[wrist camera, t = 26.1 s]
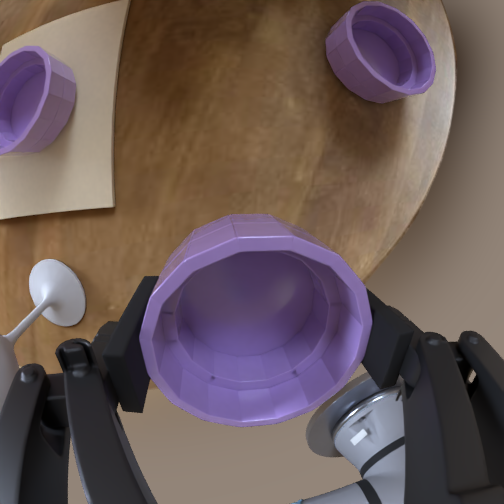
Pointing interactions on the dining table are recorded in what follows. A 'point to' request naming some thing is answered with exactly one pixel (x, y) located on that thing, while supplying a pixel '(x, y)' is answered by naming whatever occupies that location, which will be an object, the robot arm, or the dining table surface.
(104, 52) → the placemat
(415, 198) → the dining table surface
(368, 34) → the dish
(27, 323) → the wineglass
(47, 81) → the dish
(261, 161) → the dining table surface
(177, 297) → the dish
